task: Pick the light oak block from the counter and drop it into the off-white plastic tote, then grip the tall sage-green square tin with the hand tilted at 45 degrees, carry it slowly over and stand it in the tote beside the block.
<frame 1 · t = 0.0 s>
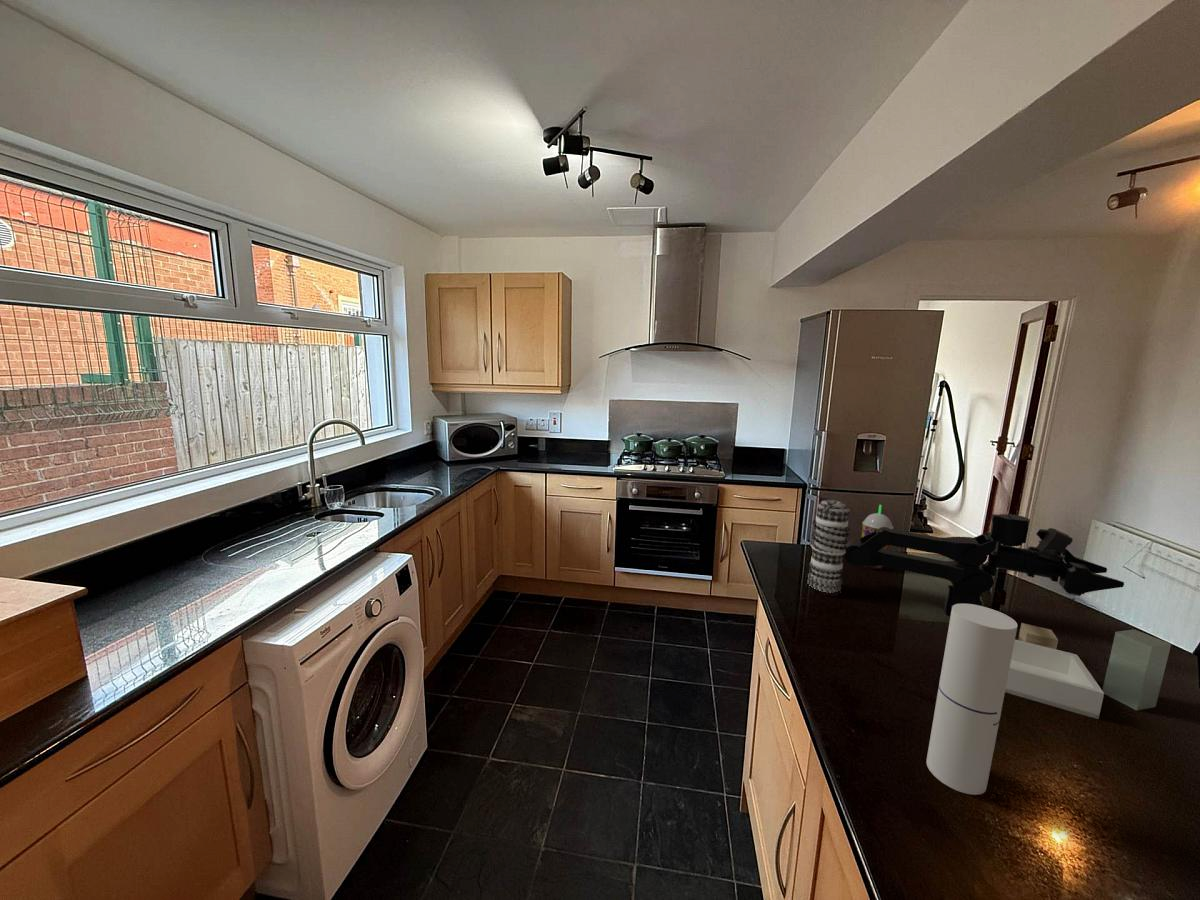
hand: (1114, 577, 104), 17 cm above the worktop, tool horizontal, fingers open, 9 cm apart
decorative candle: (823, 590, 130), on the worktop
sage tin: (1128, 699, 88), on the worktop
cylindrical container: (955, 774, 70), on the worktop
smoothie: (872, 567, 148), on the worktop
oak block: (1035, 652, 103), on the worktop
white tote: (1021, 679, 93), on the worktop
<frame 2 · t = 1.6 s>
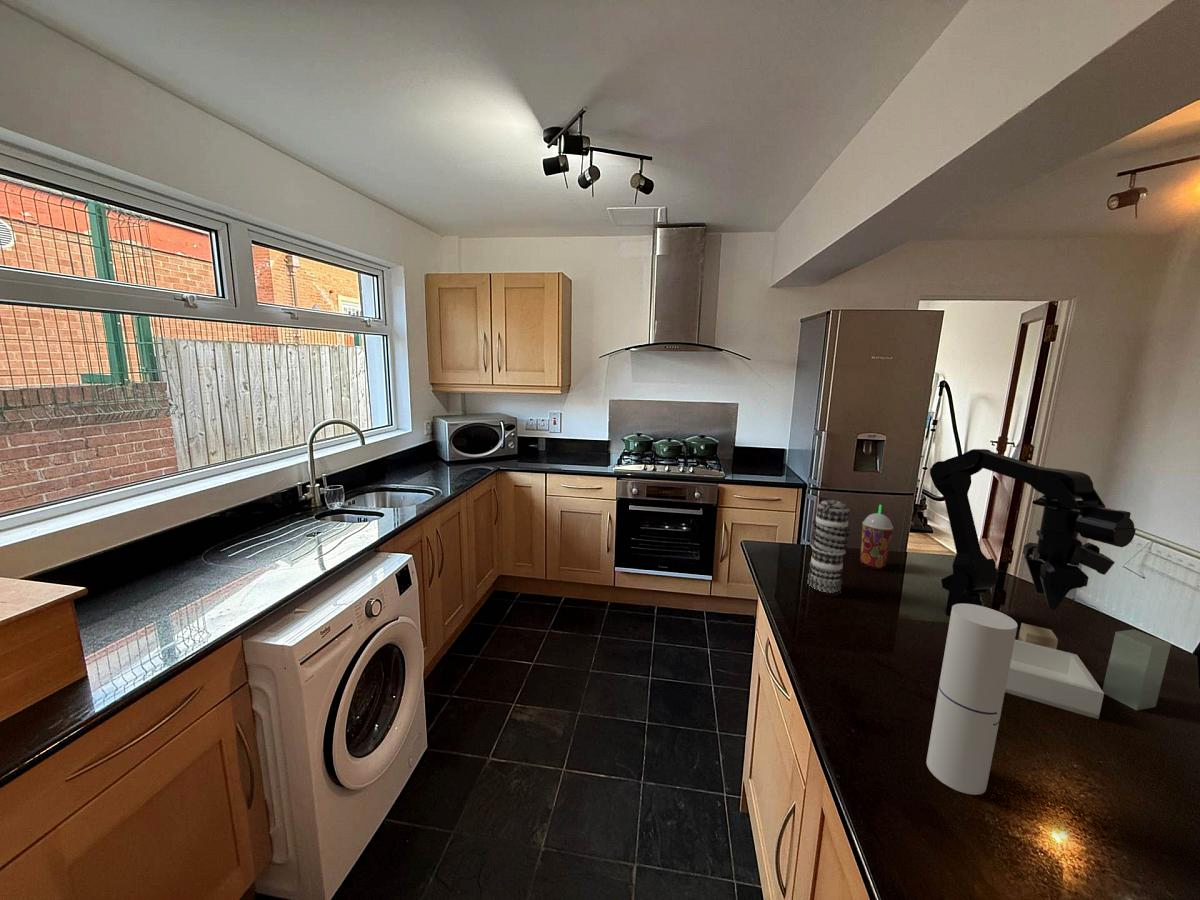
hand: (1045, 600, 101), 12 cm above the worktop, tool pointing down, fingers open, 9 cm apart
nothing on the worktop moved.
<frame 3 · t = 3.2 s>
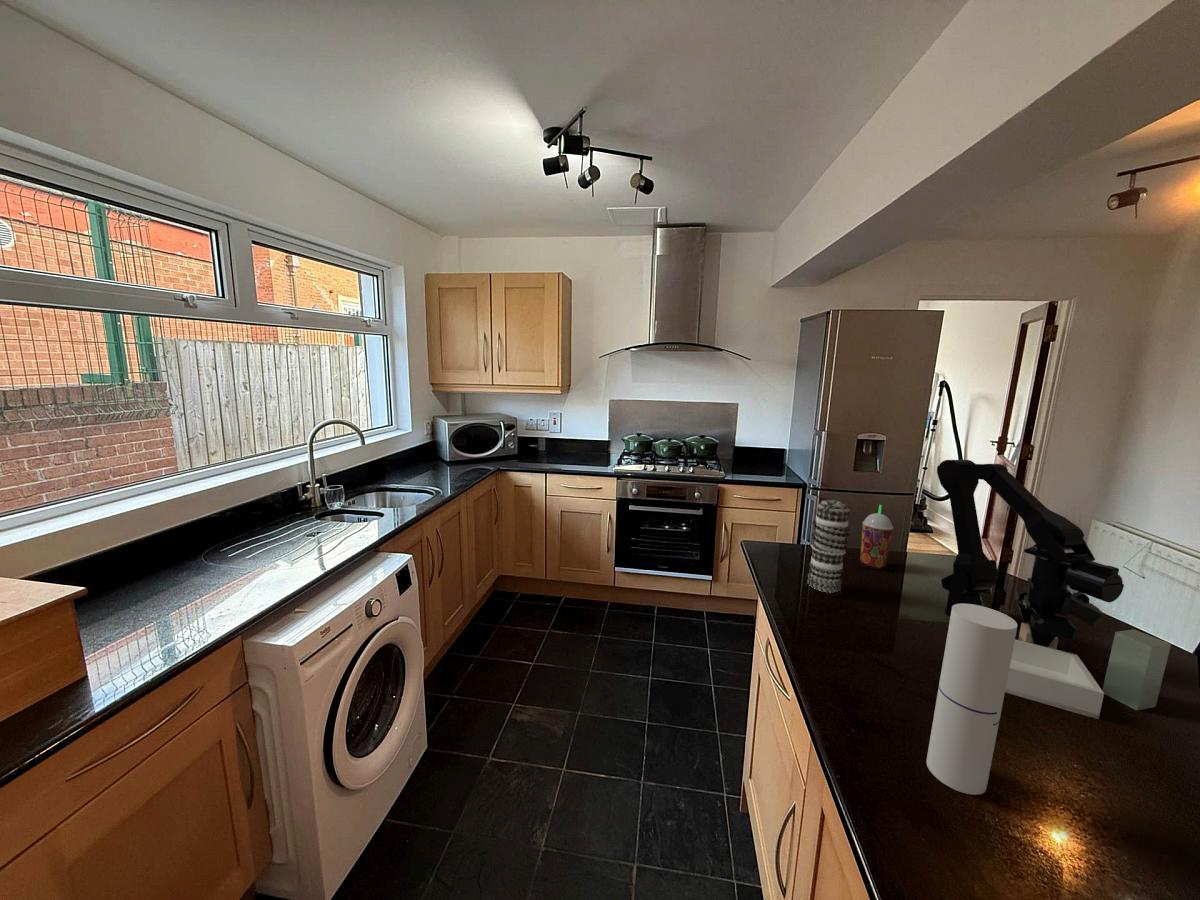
hand: (1035, 647, 103), 1 cm above the worktop, tool pointing down, fingers closed on oak block, 5 cm apart
oak block: (1035, 652, 103), on the worktop, touching gripper
everything else where it was.
when the fingers open (3 cm above the worktop, at t = 7.5 s): oak block drops 1 cm, resting on white tote.
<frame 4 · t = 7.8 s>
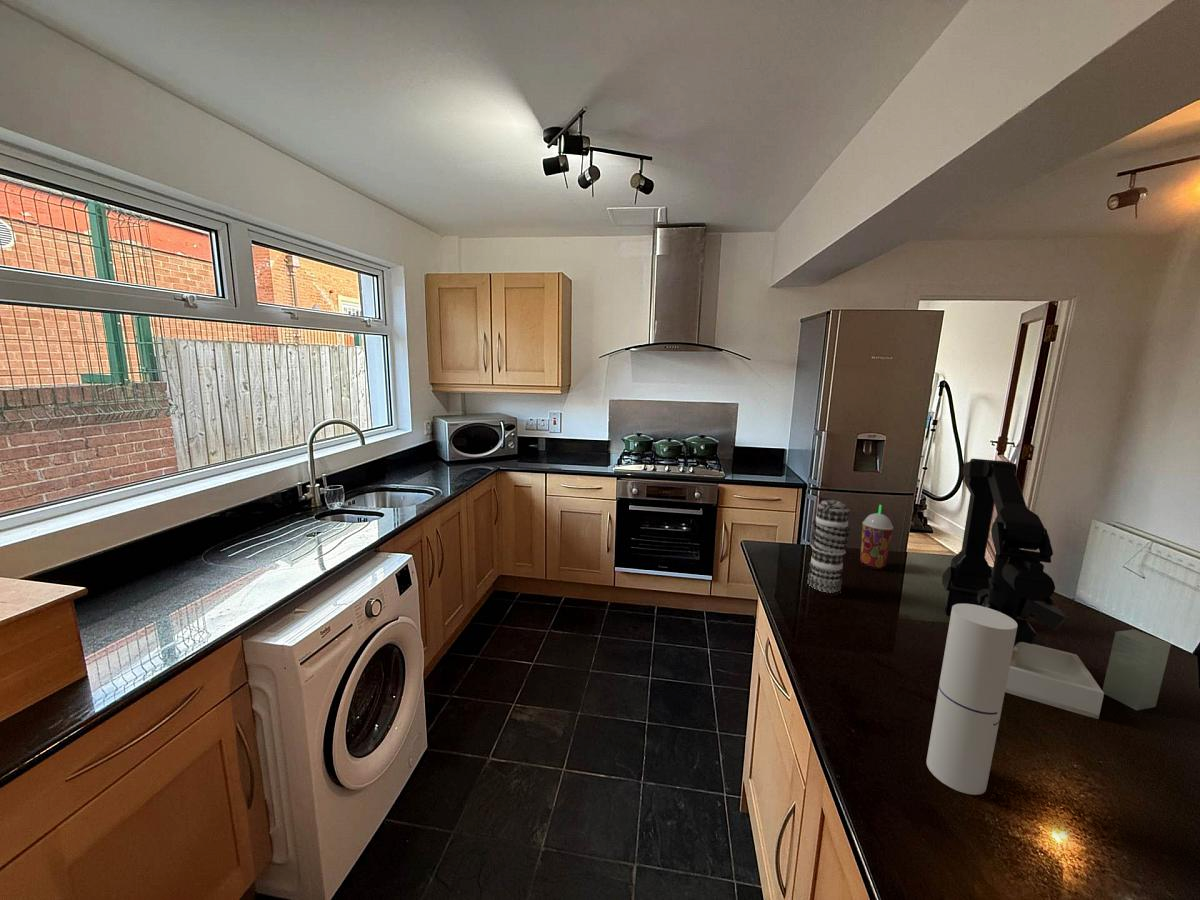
hand: (997, 653, 96), 3 cm above the worktop, tool pointing down, fingers open, 6 cm apart
oak block: (995, 664, 97), point 1 cm above the worktop, touching white tote
everything else where it was.
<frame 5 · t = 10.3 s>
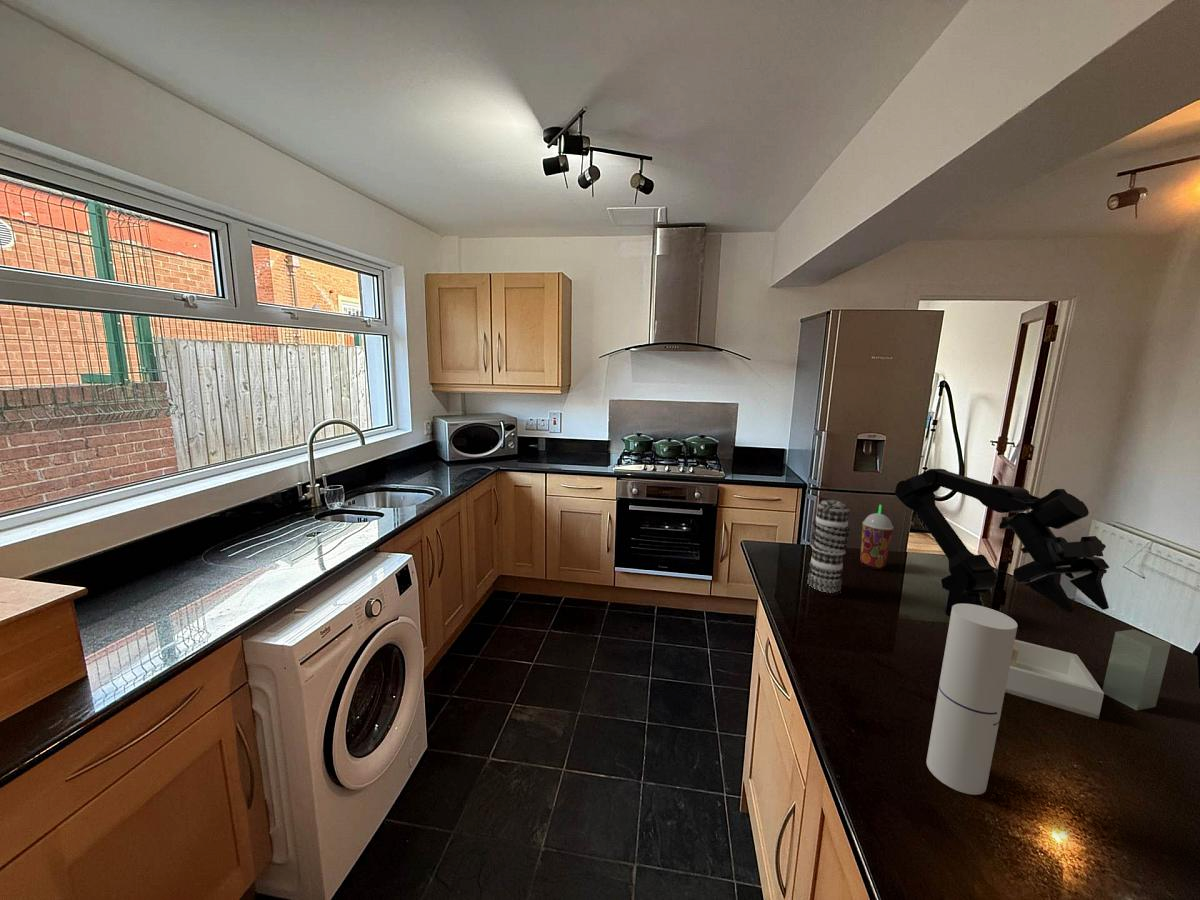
hand: (1089, 610, 94), 14 cm above the worktop, tool tilted 45°, fingers open, 9 cm apart
nothing on the worktop moved.
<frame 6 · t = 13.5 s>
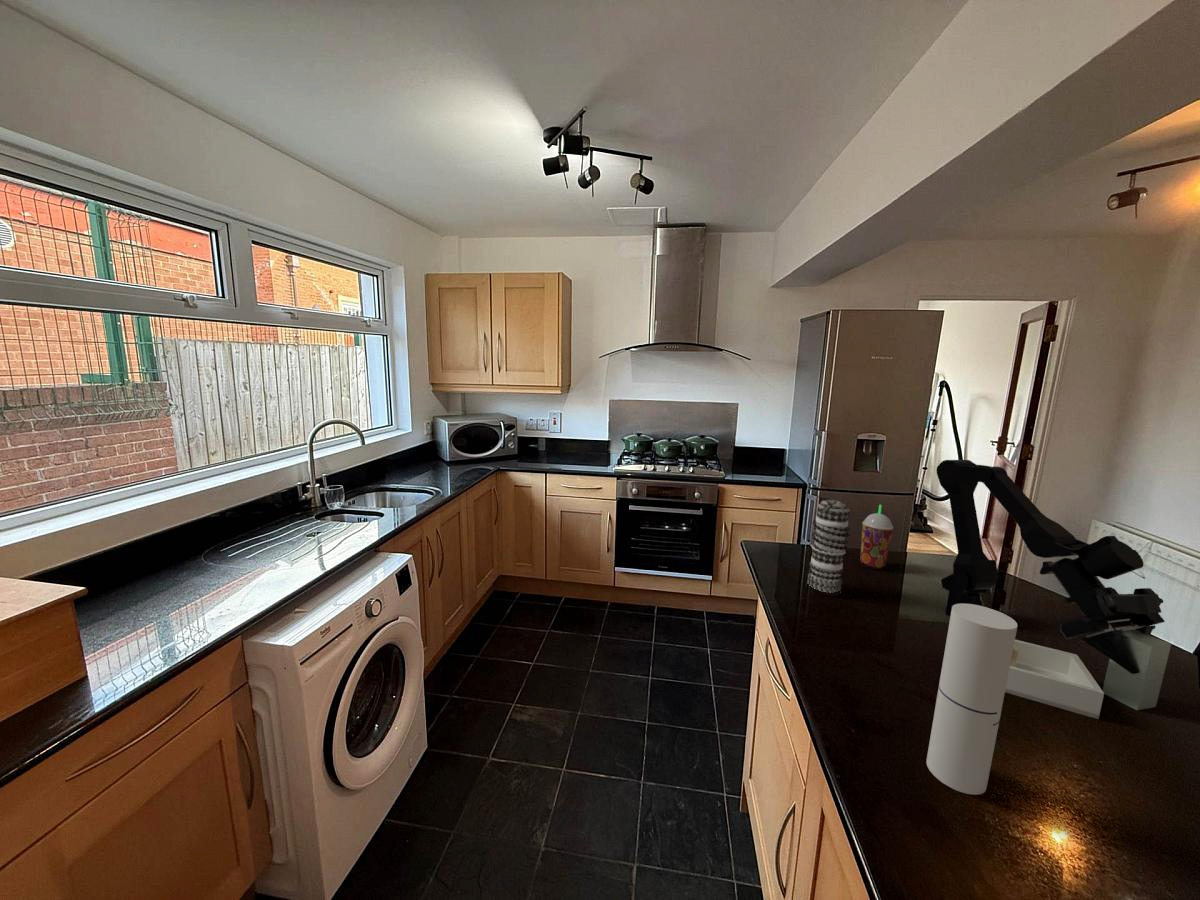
hand: (1146, 671, 86), 7 cm above the worktop, tool tilted 45°, fingers closed on sage tin, 5 cm apart
sage tin: (1128, 699, 88), on the worktop, touching gripper
everything else where it was.
when the fingers open (9 cm above the worktop, at t = 21.1 s): sage tin drops 1 cm, resting on white tote.
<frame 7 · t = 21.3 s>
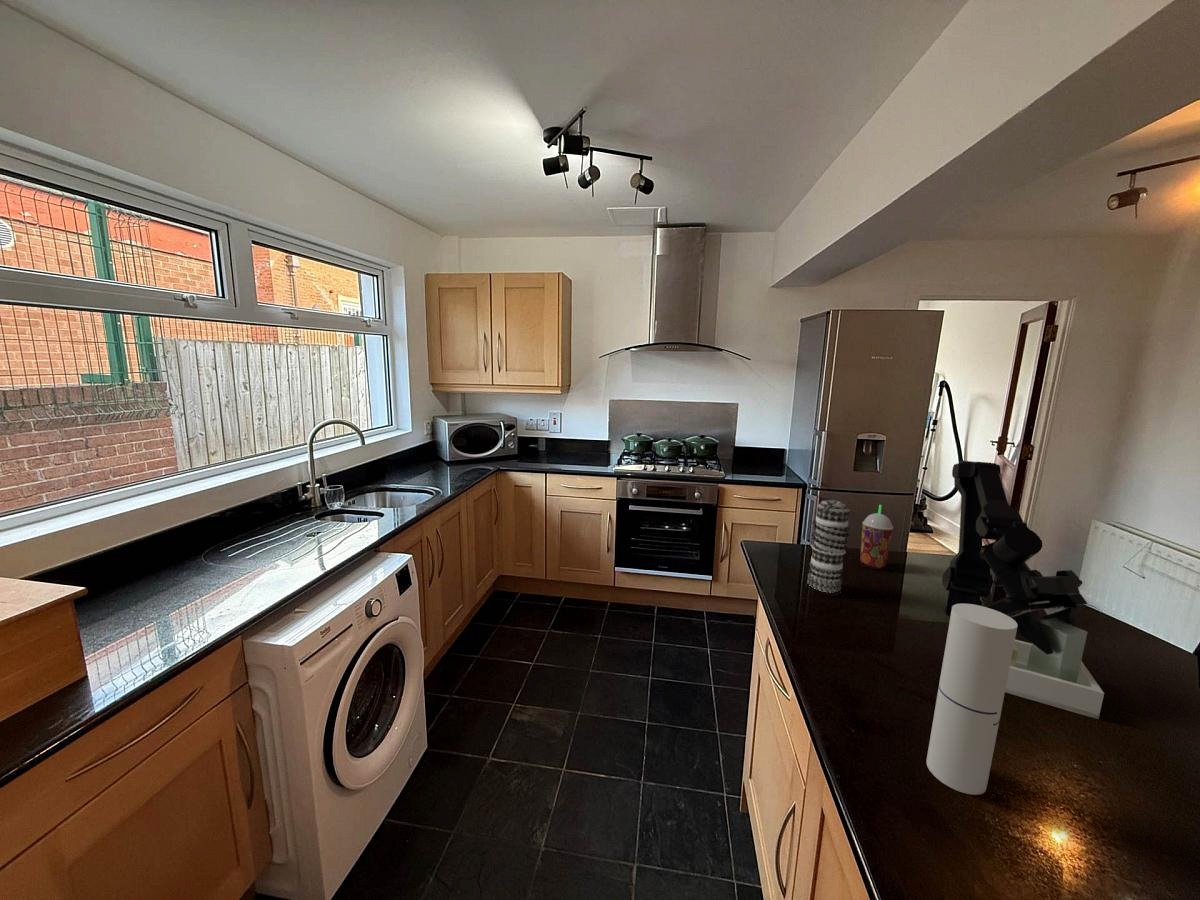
hand: (1064, 651, 87), 9 cm above the worktop, tool tilted 45°, fingers open, 7 cm apart
sage tin: (1048, 686, 90), point 1 cm above the worktop, touching white tote
everything else where it was.
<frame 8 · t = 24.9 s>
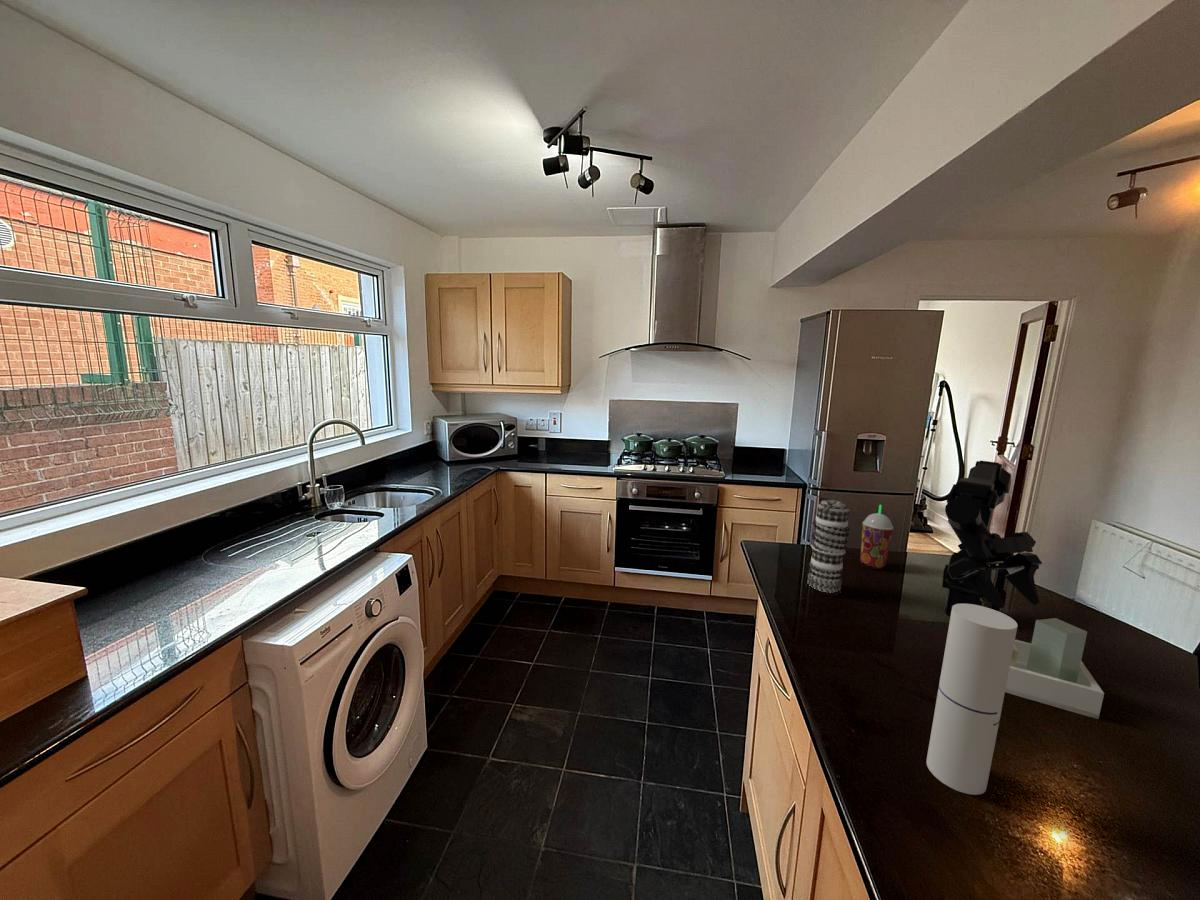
hand: (1019, 606, 95), 14 cm above the worktop, tool tilted 45°, fingers open, 9 cm apart
nothing on the worktop moved.
at the end: oak block inside the target area on the white tote (4.4 cm from its centre), point 0.8 cm above the white tote's base; sage tin inside the target area on the white tote (3.8 cm from its centre), point 0.8 cm above the white tote's base; sage tin tilted 0° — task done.
